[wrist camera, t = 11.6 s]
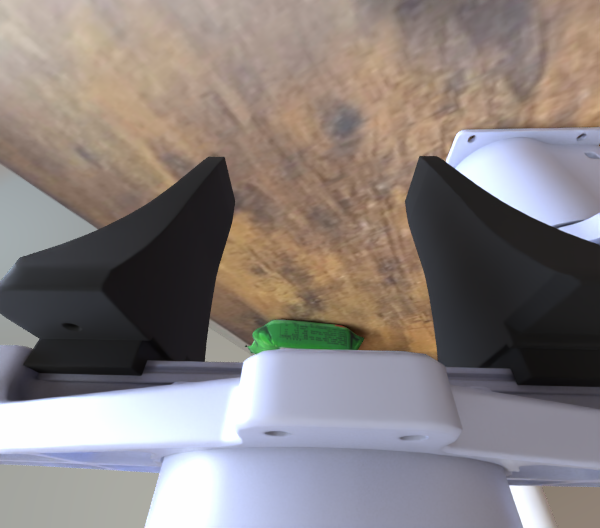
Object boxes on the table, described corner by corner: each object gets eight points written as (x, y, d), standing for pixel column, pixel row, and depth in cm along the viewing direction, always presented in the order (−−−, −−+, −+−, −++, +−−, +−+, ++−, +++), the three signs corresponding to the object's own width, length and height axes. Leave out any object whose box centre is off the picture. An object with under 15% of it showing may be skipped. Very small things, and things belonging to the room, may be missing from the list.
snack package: (252, 309, 39) (245, 346, 36) (364, 323, 40) (368, 360, 37) (250, 332, 44) (244, 366, 41) (350, 344, 46) (352, 377, 42)
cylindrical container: (497, 366, 50) (581, 579, 34) (497, 379, 55) (572, 572, 38) (452, 371, 53) (510, 571, 37) (456, 384, 57) (509, 565, 41)
